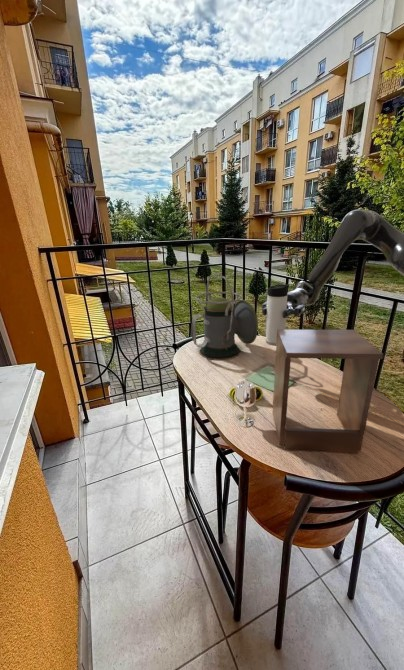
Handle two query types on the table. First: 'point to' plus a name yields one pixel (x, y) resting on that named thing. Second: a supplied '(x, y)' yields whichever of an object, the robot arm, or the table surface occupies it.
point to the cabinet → (352, 394)
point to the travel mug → (275, 312)
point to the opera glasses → (258, 393)
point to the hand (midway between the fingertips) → (273, 313)
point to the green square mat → (265, 378)
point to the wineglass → (245, 400)
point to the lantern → (225, 324)
